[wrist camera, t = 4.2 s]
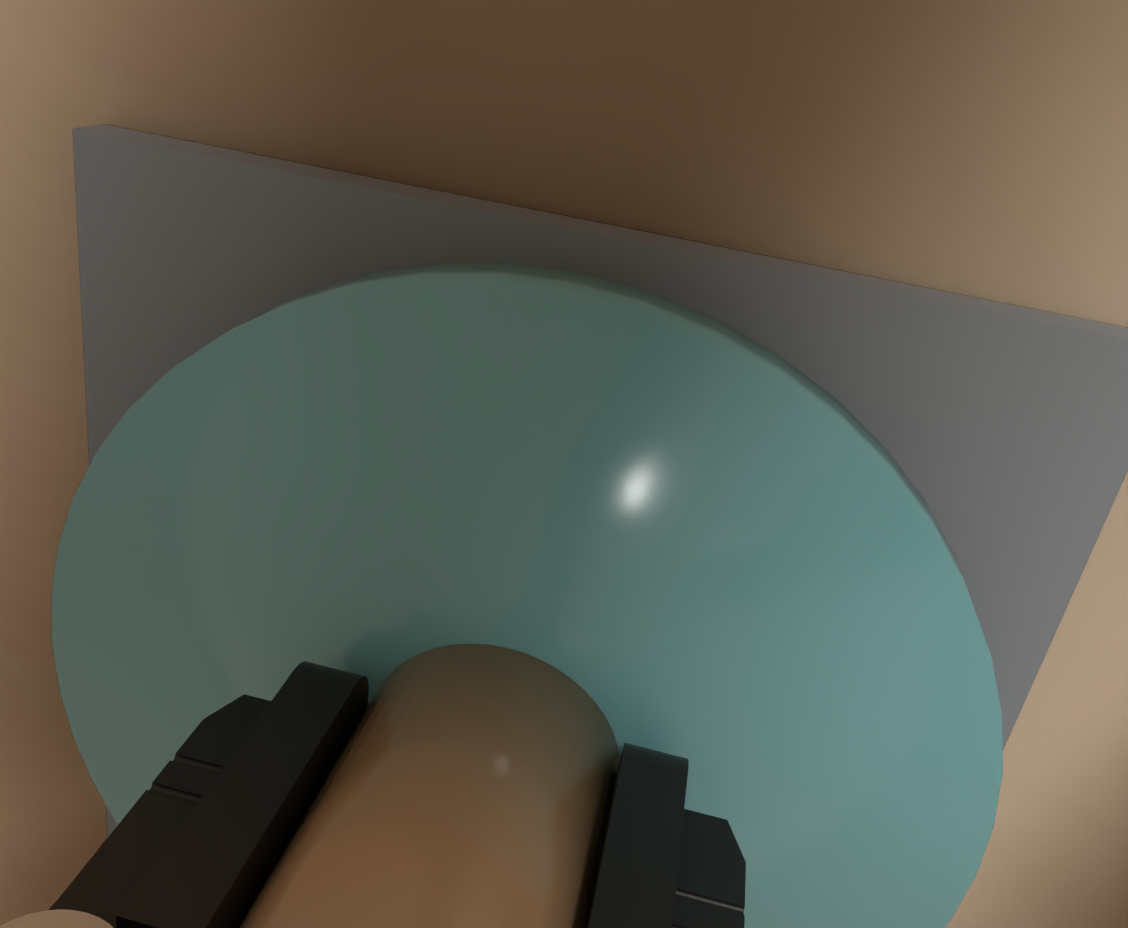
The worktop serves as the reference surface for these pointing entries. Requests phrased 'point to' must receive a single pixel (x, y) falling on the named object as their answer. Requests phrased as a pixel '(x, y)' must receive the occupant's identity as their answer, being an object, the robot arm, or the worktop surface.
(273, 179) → the mat
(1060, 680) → the worktop surface
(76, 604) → the lid
